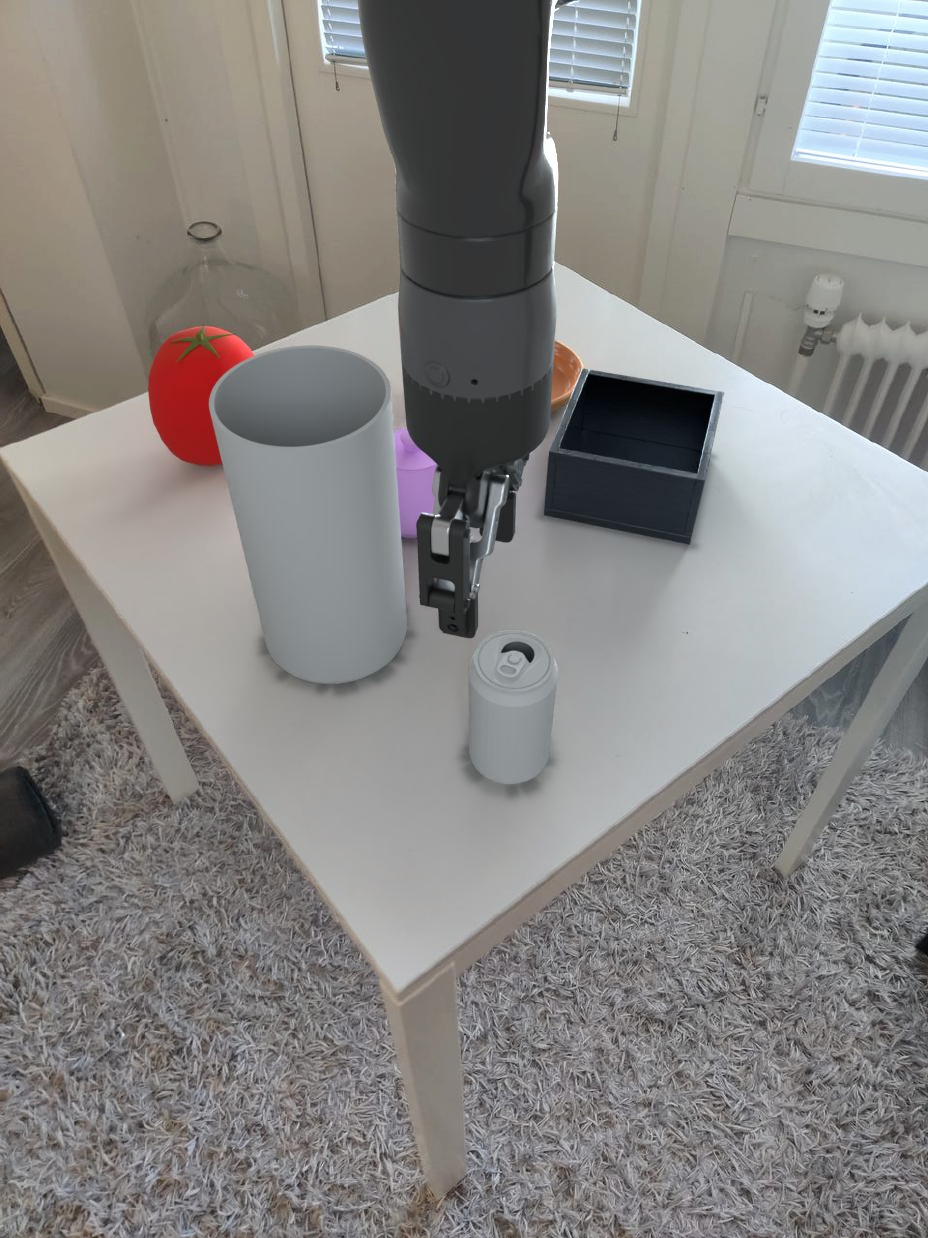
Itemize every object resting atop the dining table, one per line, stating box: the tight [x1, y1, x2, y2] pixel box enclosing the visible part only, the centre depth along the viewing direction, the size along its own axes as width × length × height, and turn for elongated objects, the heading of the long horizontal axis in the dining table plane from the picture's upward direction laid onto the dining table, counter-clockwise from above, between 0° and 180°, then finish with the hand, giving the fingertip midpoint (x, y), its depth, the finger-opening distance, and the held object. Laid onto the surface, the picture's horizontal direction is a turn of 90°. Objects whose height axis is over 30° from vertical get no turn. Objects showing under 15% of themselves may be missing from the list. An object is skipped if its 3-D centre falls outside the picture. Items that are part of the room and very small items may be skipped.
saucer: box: [551, 339, 585, 413], centre depth 108 cm, size 16×16×3 cm
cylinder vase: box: [209, 344, 408, 685], centre depth 75 cm, size 12×12×25 cm
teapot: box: [394, 427, 437, 539], centre depth 92 cm, size 12×14×9 cm
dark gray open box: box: [543, 368, 725, 545], centre depth 95 cm, size 15×15×8 cm
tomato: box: [147, 324, 255, 467], centre depth 97 cm, size 13×11×14 cm
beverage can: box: [468, 629, 559, 785], centre depth 71 cm, size 6×6×12 cm
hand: (479, 582), depth 58 cm, fingers open, 8 cm apart
